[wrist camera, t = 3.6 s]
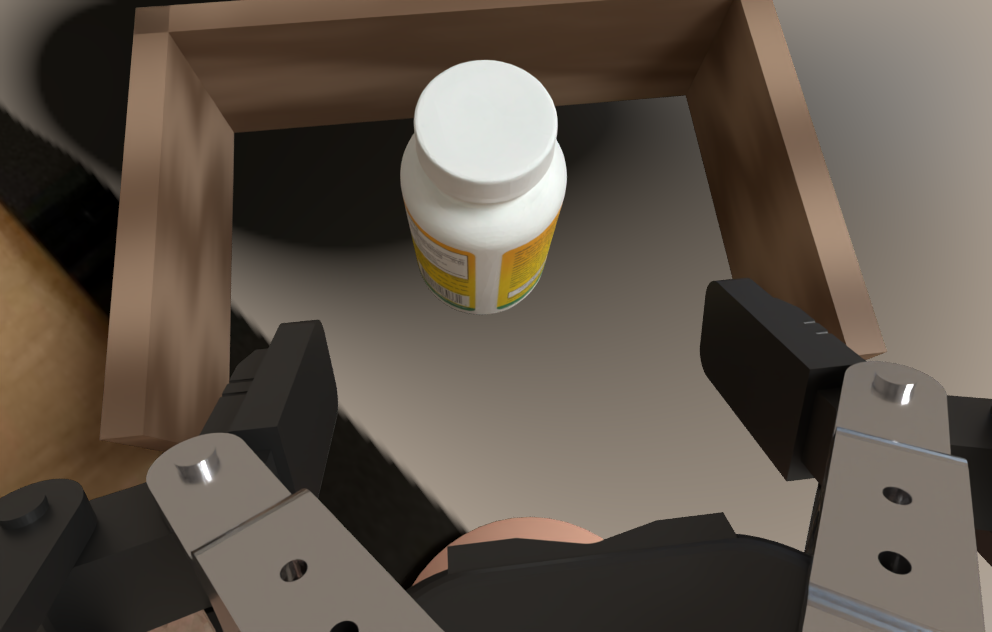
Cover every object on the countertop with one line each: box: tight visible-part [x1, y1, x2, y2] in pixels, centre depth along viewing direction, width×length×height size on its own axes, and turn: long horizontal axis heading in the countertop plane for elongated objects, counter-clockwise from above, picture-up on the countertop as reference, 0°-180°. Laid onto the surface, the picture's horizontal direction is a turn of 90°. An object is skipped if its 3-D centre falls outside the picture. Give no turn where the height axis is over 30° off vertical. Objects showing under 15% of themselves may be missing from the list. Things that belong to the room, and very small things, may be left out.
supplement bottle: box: [400, 60, 567, 315], centre depth 21 cm, size 5×5×10 cm
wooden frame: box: [100, 0, 887, 452], centre depth 23 cm, size 16×23×6 cm, turn 97°
